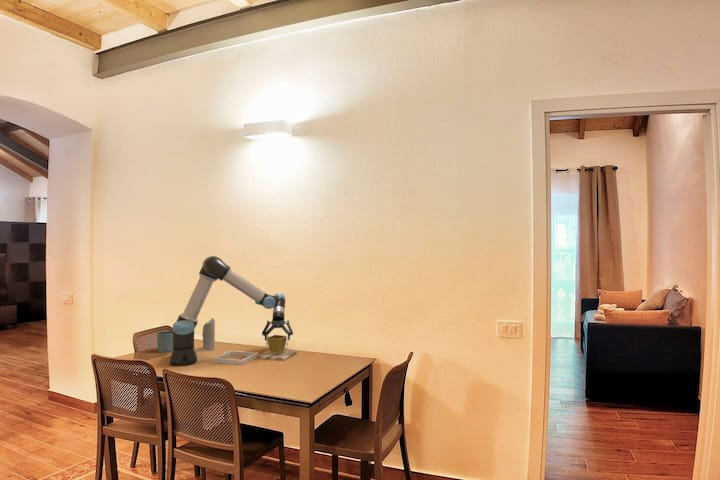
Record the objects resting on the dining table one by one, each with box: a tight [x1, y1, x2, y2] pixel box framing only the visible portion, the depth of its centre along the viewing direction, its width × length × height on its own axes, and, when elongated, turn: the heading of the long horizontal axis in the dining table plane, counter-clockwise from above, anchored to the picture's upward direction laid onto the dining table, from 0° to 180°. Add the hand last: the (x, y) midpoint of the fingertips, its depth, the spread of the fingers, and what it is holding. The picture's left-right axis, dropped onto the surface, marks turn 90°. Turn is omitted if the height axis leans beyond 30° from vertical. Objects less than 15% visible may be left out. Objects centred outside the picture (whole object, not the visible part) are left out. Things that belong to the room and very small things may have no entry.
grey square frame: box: [212, 350, 259, 366], centre depth 264 cm, size 19×19×2 cm
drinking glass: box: [156, 330, 173, 353], centre depth 286 cm, size 10×10×12 cm
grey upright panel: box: [194, 317, 216, 352], centre depth 289 cm, size 7×14×20 cm, turn 107°
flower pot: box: [267, 334, 287, 352], centre depth 272 cm, size 9×9×9 cm
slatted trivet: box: [256, 349, 298, 361], centre depth 272 cm, size 18×18×2 cm
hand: (277, 344), depth 269 cm, fingers closed on flower pot, 11 cm apart
